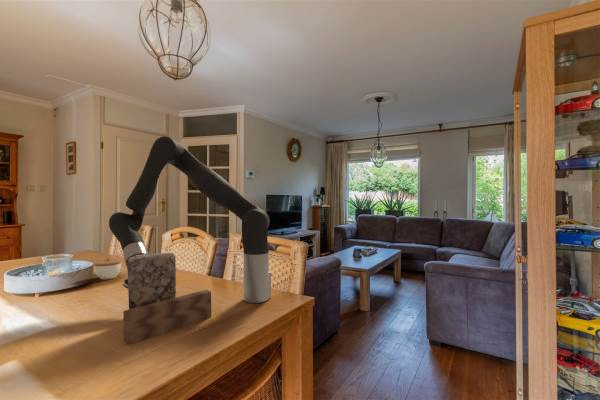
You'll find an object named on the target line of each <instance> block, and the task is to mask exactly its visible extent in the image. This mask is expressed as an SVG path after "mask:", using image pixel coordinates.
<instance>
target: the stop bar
mask: <svg viewBox="0 0 600 400" xmlns="http://www.w3.org/2000/svg"><path fill="white" fill-rule="evenodd" d="M122 312H123V314H122V315H123V342H124V344H126V345H127V346H131V345H132V344H135V343H138V342H141V341H144V340H147V339H150V338H153V337H156V336H159V335H162V334H165V333H168V332H170V331H174V330H177V329H180V328H183V327H186V326H189V325H191V324H195V323H198V322H200V321H203V320H206V319H208V318H209V319H210V318H212V291H211V290H208V289H203V290H199V291H196V292H192V293H189V294H185V295H184V294H183V295H181V296H176V297H175V298H172V299H168V300H164V301H160V302H156V303H153V304H149V305H145V306H141V307H137V308H133V309H130V310H129V309H126V310H123V311H122Z"/></svg>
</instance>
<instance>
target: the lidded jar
mask: <svg viewBox="0 0 600 400" xmlns="http://www.w3.org/2000/svg"><path fill="white" fill-rule="evenodd" d="M121 269H122V260H121V259H117V258H112V259H110V257H106V259H102V260H98V261H95V262H94V271H95V274H96V276H97V277H98V278H99V279H100V280H111V279H114V278H116V277H117V275H119V273H120V271H121Z"/></svg>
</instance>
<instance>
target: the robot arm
mask: <svg viewBox="0 0 600 400" xmlns="http://www.w3.org/2000/svg"><path fill="white" fill-rule="evenodd" d="M167 164H170V165H171V166H173V167H175V168H176V169H178V170H179V171H180V172H182V173H183V174H184V175H185V176H187V178H188V179H189V180H190V182H191V183H192V184H193V186H194V187H195V189H197V190H198V191H199V192H200V193H201V194H202V195H204V196H205V197H206V198H207V199H209V200H210V201H211V202H213V203H215V204H216V205H218V206H220V207H222V208H224V209H225V210H228V211H229V212H231V213H233V214H234V215H235V216H236V217H237V218H239V220H240V221H241V244H242V249H243V301H244V302H246V303H250V304H258V303H264V302H266V301H268V300H269V299H270V298H272V273H271V271H270V261H269V259H270V254H269V253H270V252H269V250H270V247H269V242H268V228H269V226H270V222H271V219H270V216H269V214H268V213H267V212H266V211H265V210H264V209H262V208H260V207H259V206H257V205H256V204H254V203H252V202H251V201H250V200H248V199H247V198H246V197H244V196H243V195H242V194H241V193H240V192H239V191H238V190H237V189H236V188H235V187H234V186H233V185H232V184H230V183H229V182H228V181H227V180H226V179H225V178H224V177H223V176H221V175H220V174H218V173H217V172H216V171H215V170H213V169H212V168H210V167H209V166H207V165H206V164H204V163H203V162H201V161H200V160H198V159H197V158H196V157H195V156H194V155H193V154H192V153H191V152H190V151H189V150H188V149H187V148H186V147H185V146H184V145H183V144H182V143H181V142H179V140H176V139H174V138H172V137H169V136H165V135H164V136H163V135H162V136H159V137H158V138H157V139H155V141H154V142H153V144H152V147H151V149H150V151H149V155H148V157H147V159H146V161H145V164H144V167H143V169H142V172H141V174H140V176H139V178H138V181H137V182H136V184H135V186H134V188H133V189H132V190H131V193H130V194H129V196H128V197H127V199H126V201H125V206H126V208H127V209H129V210H130V211H131V210H132V213H131V214H130V213H126V212H119V211H118V212H114V213H112V215H111V216H109V219H108V226H109V230H110V232H111V233H112V235H113V236H114V237H115V239H116V240H117V241H118V242H119V243H120V247H121V251H122V253H123V259H124V260H123V261H124V263H125V266H126V269H127V271H128V267H127V264H128V260H129V258H131V257H133V256H135V255H143V254H150V252H149V250H148V248H147V246H146V244H145V242H144V238H143V237H142V235H141V233H140V232H138V231H139V230H140V229H141V228H142V227H143V225H142V224H143V221H144V217H145V214H146V209H147V208H148V207H149V204H150V202H151V201H152V200H153V197H154V196H155V194H156V190H157V186H158V182H159V178H160V176H161V173H162V172H163V170H164V168H166V165H167ZM122 286H123V287H124V288H126V289H127V290H128V278H126V279H124V282H123V284H122Z"/></svg>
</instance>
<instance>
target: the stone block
mask: <svg viewBox="0 0 600 400" xmlns="http://www.w3.org/2000/svg"><path fill="white" fill-rule="evenodd" d="M127 267H128V270H127V279H128V289H127V291H128V310H130V309H133V308H137V307H141V306H145V305H149V304H153V303H156V302H160V301H164V300H168V299H172V298H176V297H177V295H176V294H177V293H176V292H177V276H176V275H177V272H176V271H177V270H176V269H177V267H176V256H175V254H174V253H173V252H162V253H161V252H160V253H149V254H143V255H135V256H133V257H131V258H129V260H128V264H127V266H126V268H127Z"/></svg>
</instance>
